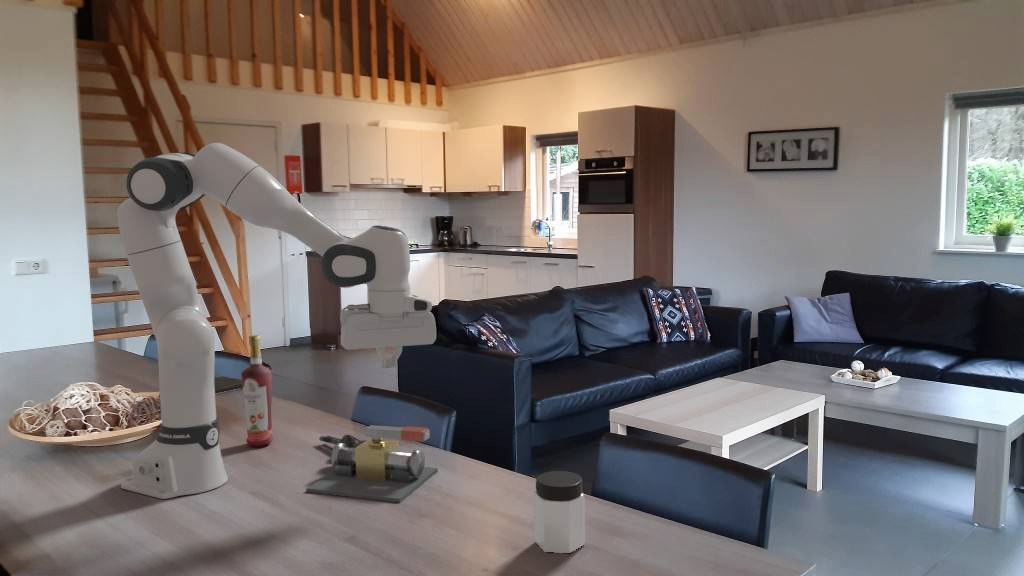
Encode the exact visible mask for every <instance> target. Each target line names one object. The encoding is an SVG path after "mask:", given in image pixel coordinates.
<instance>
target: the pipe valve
mask: <svg viewBox="0 0 1024 576" xmlns="http://www.w3.org/2000/svg"><path fill="white" fill-rule="evenodd" d="M364 441H365V440H364ZM399 442H400V441H399V440H398V439H397V440H395V439H386V438H382V441H380V442H372V437H370V438H369V439H367V441H365V442H364V443H362V444H360V445H359V446H357V447H355V448H349V447H347V445H346V444H344V443H337V444H336V445H335V444H334V446H333V448H332V450H331V453H330V454H331V456H330V463H331V466H332V467H333V468H334V470H335V474H336V476H344V477H353V476H354V475H356V479H364V480H374V481H383V482H386V481H387V480H388V479H390V478H391V477H392V481H393V482H401V483H410V482H412V481H413V480H414V479H415V478H417V477H419V476H420V475H421V474H422V472H423V469H424V467H425V463H426V458H425V454H424V451H423V450H422V449H420V450H419V449H414V450H412V452H401V451H400V443H399Z"/></svg>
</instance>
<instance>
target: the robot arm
mask: <svg viewBox="0 0 1024 576" xmlns="http://www.w3.org/2000/svg"><path fill="white" fill-rule="evenodd" d="M125 184H126V190H127V192H128V195H129V198H127V199H125V200H124V201H123V202H122V203H121V204H120V205H119V206H118V208H117V212H116V213H117V214H116V215H117V221H118V222H117V224H118V230H119V233H120V239H121V243H122V246H123V249H124V252H125V256H126V258H127V261H128V263H129V267H130V269H131V272H132V275H133V278H134V280H135V284H136V286H137V289H138V292H139V295H140V298H141V301H142V303H143V306H144V309H145V312H146V315H147V318H148V321H149V323H150V326H151V329H152V332H153V334H154V337H155V340H156V346H157V347H156V348H157V362H158V379H159V380H158V385H159V386H158V387H159V401H160V402H159V403H160V414H161V416H160V417H161V423H159V424H158V425H155V426H152V427H151V429H153V430H152V431H151V433H156V432H157V433H156V437H155V440H154V441H153V442H151V443H150V445H148V446H147V447H146V448H145V449H144V450H142V451H141V452H140V453H138V455H136V456H135V458H134V460H133V463H132V475H130V476H128V477H127V478H125V479H124V480H122V482H121V484H120V488H121V489H124V490H127V491H130V492H134V493H138V494H142V495H146V496H149V497H154V498H158V499H160V500H161V499H162V500H165V499H166V500H167V499H171V498H176V497H179V496H185V495H186V496H187V495H194V494H200V493H204V492H208V491H211V490H214V489H216V488H217V489H218V488H220V487H221V486H222V485H224V484H225V483H227V482H228V481H229V475H228V473H227V472H226V471H227V470H226V467H225V465H224V461H223V456H222V452H221V446H220V441H219V439H220V421H219V417H218V416H217V407H216V406H217V405H216V395H215V387H214V378H215V369H216V368H215V359H216V358H215V333H214V329H213V326H212V324H211V323H210V322H209V320H208V319H207V317H206V314H205V312H204V309H203V306H202V301H201V300H200V295H199V291H198V289H197V286H196V282H195V278H194V274H193V271H192V268H191V266H190V262H189V259H188V256H187V253H186V250H185V248H184V244H183V241H182V239H181V236H180V233H179V230H178V227H177V222H176V217H177V214H178V211H179V210H180V211H182V210H185V209H186V208H189V207H190V206H191V205H193V204H195V203H196V202H198V201H200V200H201V199H202V198H203V197H204V196H209V198H210V197H211V198H212V199H213V200H215V201H216V202H218V203H219V204H221V205H222V206H223V207H225V208H226V209H227V210H228V211H229V212H231V213H233V214H234V215H236V216H237V217H239V218H241V219H242V220H244V221H246V222H248V223H251V224H252V225H254V226H257V227H261V228H267V229H272V230H277V231H279V232H283V233H286V234H288V235H290V236H292V237H294V238H295V239H297V240H298V241H299V242H301V243H302V244H304V245H306V246H307V247H308V248H309V249H311V250H312V251H314V252H315V253H316V254H318V255H320V256H321V261H320V269H321V272H322V275H323V277H324V278H325V280H326V281H327V282H328V283H330V284H331V285H333V286H335V287H338V288H340V289H341V288H343V289H346V288H347V289H349V288H353V287H356V286H360V285H366V286H367V303H361V304H360V303H359V304H347V306H345V307H343V308H342V309H341V311H340V314H339V315H340V316H339V318H340V319H339V320H340V324H341V332H340V344H341V347H343V348H344V349H345V350H347V351H351V350H364V349H368V350H369V349H375V351H376V353H377V355H378V356H379V358H380V359H381V368H382V369H391V368H398V360H399V358H400V356H401V354H402V352H403V347H408V346H422V345H423V346H424V345H433V344H434V343H435V341H436V340H437V326H436V324H437V323H436V319H435V316H434V314H433V313H432V312H431V311H432V309H433V303H432V302H431V301H430V300H428V299H426V298H423V297H419V296H417V295H413V294H411V287H410V286H411V285H410V283H409V273H410V269H411V253H410V252H411V251H410V244H409V239H408V236H407V235H406V233H405V232H404V231H402V230H401V229H398V228H395V227H390V226H386V225H373V226H371V227H370V228H369V229H367V230H366V231H364V232H362V233H360V234H358V235H356V236H354V237H350V236H345V235H343V234H341V233H339V232H338V231H336V230H335V229H334V228H333V227H331V226H330V225H328V224H326V223H325V222H324V221H323V220H321V219H320V218H319V217H317V216H316V215H314V214H313V213H312V212H310V211H309V210H308V209H306V208H305V207H304V206H303V205H302V204H301V203H300V202H299V201H298V200H297V199H296V198H295V197H294V196H293V195H292V193H290V192H289V191H288V189H286V187H285V186H284V185H283V184H281V182H280V181H278V179H276V178H275V176H273V175H272V174H271V173H270V172H268V171H267V169H265V168H264V167H262V166H261V165H260V164H258V163H257V162H255V161H254V160H253V159H251V158H250V157H248V156H247V155H245V154H243V153H241V152H240V151H238V150H236V149H234V148H232V147H230V146H229V145H227V144H224V143H222V142H212V143H209V144H207V145H205V146H203V147H202V148H200V150H199V151H198V152H197V153H196V154H193V153H191V152H171V153H170V152H169V153H168V152H167V153H162V154H160V155H157V156H152V157H147V158H144V159H142V160H140V161H138V162H137V163H136V164H134V165H133V166H132V167H131V168H130V170H129V172H128V174H127V176H126V183H125ZM387 348H392V350H393V351H394V352H393V355H392V356H391V358H387V357H386V356H385V353H386V352H387V351H386V349H387Z"/></svg>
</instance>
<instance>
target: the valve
mask: <svg viewBox="0 0 1024 576" xmlns="http://www.w3.org/2000/svg"><path fill="white" fill-rule="evenodd" d="M367 440H368V439H367ZM367 440H365V439H364V440H360V439H358V438H357V437H355V436H353V435H352V434H345V435H343V436H342V437H341V438H339V437H333V436H331V435H326V436H325V435H320V437H319V441H320V442H324V443H328V444H333V445H334V446H335V445H336V444H337V443H344V444H346V445H347V447H349V448H355V447H357V446H359V445H360V444H362V443H364V442H365V441H367Z"/></svg>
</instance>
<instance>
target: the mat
mask: <svg viewBox="0 0 1024 576" xmlns="http://www.w3.org/2000/svg"><path fill="white" fill-rule="evenodd" d="M438 469H439V468H438V467H432V466H431V467H430V466H424V469H423V472H422V474H421V475H420V476H419V477H417V478H415V479H414V480H413V481H412V482H410V483H401V482H393V481H392V477H391V478H390V479H388V480H387V481H386V482H383V481H374V480H364V479H356V475H354V476H353V477H344V476H336V474H335V469H334V470H333V471H332V472H330V473H327V475H325V476H324V477H322V478H320V479H319V480H317V481H315V482H314V483H312V484H311V485H309V486H308V487H306V488H305V489H306V493H311V492H312V494H320V493H322V494H321V495H329V494H333V495H332V496H337V495H340V496H339V497H346V496H348V498H355V497H356V498H358V499H363V498H365V499H364V500H372V501H381V500H382V502H383V501H384V502H390V503H391V502H392V503H402V502H403V501H405V499H406V498H408V497H409V496H411V494H413V493H414V492H415V491H416V490H417V489H419V487H421V486H422V485H423V484H424V483H426V482H427V481H428V480H429V479H430V478H431V477H433V476H434V475H435V474H437V472H439V471H438ZM401 501H402V502H401Z"/></svg>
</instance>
